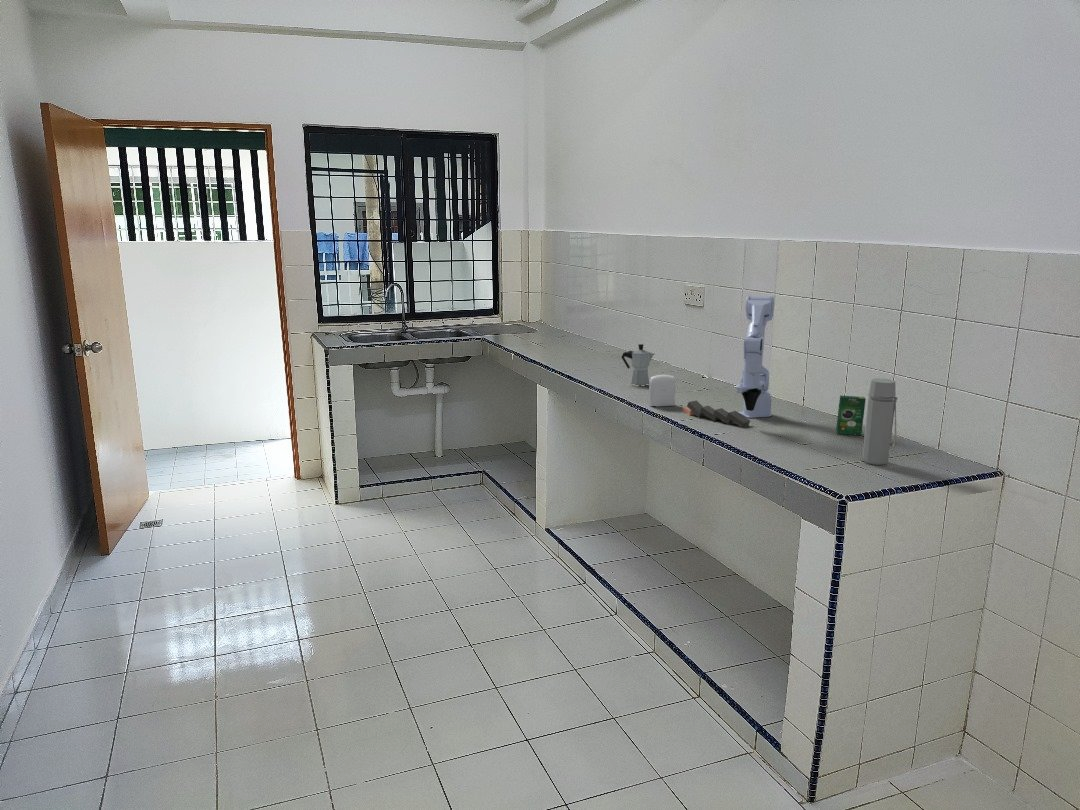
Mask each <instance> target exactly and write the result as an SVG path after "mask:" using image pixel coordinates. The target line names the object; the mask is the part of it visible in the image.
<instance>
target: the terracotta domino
mask: <svg viewBox="0 0 1080 810" xmlns="http://www.w3.org/2000/svg"><path fill="white" fill-rule="evenodd" d="M683 411H684V413H685V412H686V413H685V414H687V415H688V414H689V415H688V416H696V415H695V414H694V413H693V412H692V411H691V410H690V409H689V408H688V407H687V406H682V412H683Z"/></svg>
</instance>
